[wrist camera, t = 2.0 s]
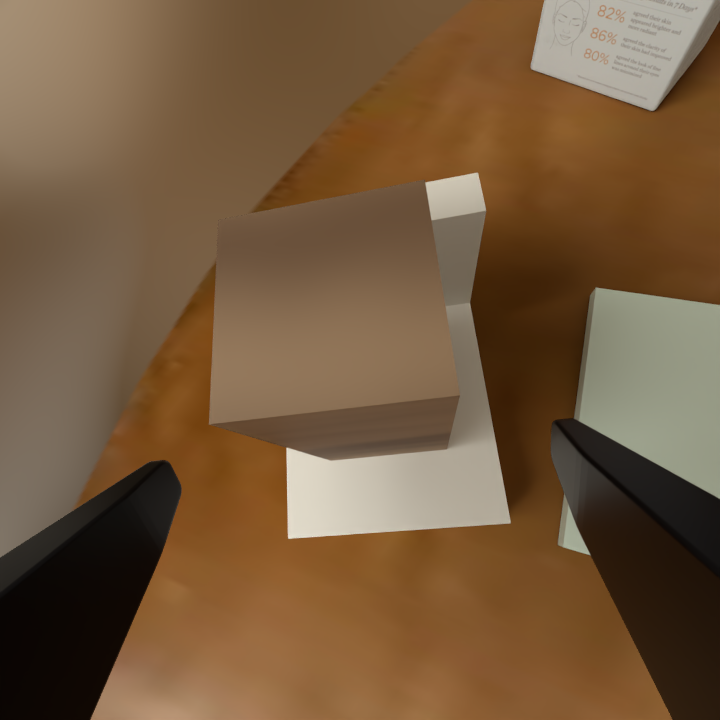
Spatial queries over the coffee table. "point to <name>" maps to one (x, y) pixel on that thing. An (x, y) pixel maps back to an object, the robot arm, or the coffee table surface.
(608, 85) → the small box
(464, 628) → the coffee table surface
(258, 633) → the coffee table surface
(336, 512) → the ledge
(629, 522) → the robot arm
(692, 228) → the coffee table surface
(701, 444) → the pad
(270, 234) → the walnut block
